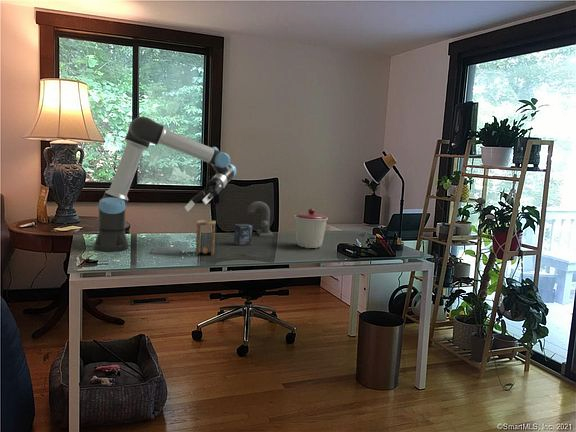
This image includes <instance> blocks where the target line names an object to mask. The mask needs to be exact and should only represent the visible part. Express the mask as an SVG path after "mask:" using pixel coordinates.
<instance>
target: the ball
mask: <svg viewBox="0 0 576 432" xmlns="http://www.w3.org/2000/svg"><path fill="white" fill-rule="evenodd" d="M209 251H210V249H209V247H208V246H202V248H201V253H202V254H205V255H206V254H208V253H209Z"/></svg>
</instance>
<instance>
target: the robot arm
mask: <svg viewBox="0 0 576 432" xmlns="http://www.w3.org/2000/svg"><path fill="white" fill-rule="evenodd" d="M124 140H125V143H126V144H125V147H124V150H123V153H122V155H121V157H120V161H119V163H118V166H117V168H116V171H115V174H114V176H113V180H111V181H112V182H111V185H110V186H109V189H108V190H105V192H104V195H103V197H102V198H101V199H99V203H98V233H97V236H96V238H95V241H94V250H96V251H101V252H121V251H126V250H128V249H129V241H128V238H127V235H126V207H127V204H128V202H129V198H128V193H129V191H130V187H131V185H132V182H133V180H134V177H135V174H136V171H137V170H138V167H139V164H140V162H141V160H142V159H141V158H142V156H143V154H144V152H145V150H147V149H149V147H150V144H154V145H156V146H157V145H162V146H164V147H167V148H169V149H172V150H175V151H176V152H177V151H178V152H180V153H182V154H185V155H188V156H190V157H193V158H195V159H198V160H201V162H202V161H203V162H206V163H208V164H210V165H211V166H212V168H213V169H214V171H215V175H213V176H212V177H211V178H210V180H208V182H207V183H206V185H207V186H206V187H205V188H204V189H202V190H201V191H200V192H198V193H197V194H196V195H194V196H192V198H191V199H189V200H188V203H187V204H186V205H185V206H184V207H183V209H185V212H186V213H188V212H189V211H190V210H191V209H192V208H193V207H195V206H196V204H197V203H198V202H200V201H201V200H202V203H203V204H204V205H205V206H206V205H208V203H209V202H210V201H211V200H212V199H213V198H214V197H215V196H218V195H219V194H220V192H221V191H222V190H223V189H225V188H226V185H227V184H229V182H230V181H231V180H232V179H234V177H235V176H236V175H237V168H236V166H235V165H234V164H232V163H231V158H230V157H231V156H229V154H228V153H226V152H224V151H220V150H219V148H218V147H216V146H212V147H211V146H208V145H205V144H203V143H201V142H198V141H197V140H193V139H190V138H189V137H186V136H184V135H181V134H178V133H177V132H174V131H172V130H169V129H166V127H165V125H162V124H160V123H159V122H156V121H154V120H152V119H151V118H150V117H146V116H139V117H136V118H134V119H132V121H130V123H129V125H128V130H127V133H126V135H125V138H124Z"/></svg>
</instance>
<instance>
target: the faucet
mask: <svg viewBox="0 0 576 432" xmlns="http://www.w3.org/2000/svg"><path fill="white" fill-rule="evenodd" d="M258 209H259V210H261V211H262V217H261V221H260V226H261V228H260V229H259V228H258V229H256V233H257V235H258V234H259V235H258V236H259V238H275V234H273V232H272V231H271V230H270V222H271V221H270V220H271V219H270V218H271V210H270V207H269V205H268V204H267V203H266V202H263V201H260V200H259V201H254V202H252V203H250V205H248V208H247V211H246V212H247V213H248V214H252V213H253V214H254V213H255V211H256V210H258Z"/></svg>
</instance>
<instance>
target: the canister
mask: <svg viewBox="0 0 576 432" xmlns="http://www.w3.org/2000/svg"><path fill="white" fill-rule="evenodd" d="M315 212H316V210H315V208H312V207H311V208H309V209H308V212H300V213H297V214H295V215H294V218H295V234H296V235H295V237H296V244H297V245H298V246H299V247H300V246H301V247H300V248H303V247H305V248H304V249H309V248H315V249H318V247H319V248H321V247H322V245H323V241H324V237H325V231H326V226H327V220H329V218H328V217H327V216H326V215H324V214H321V213H315Z"/></svg>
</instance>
